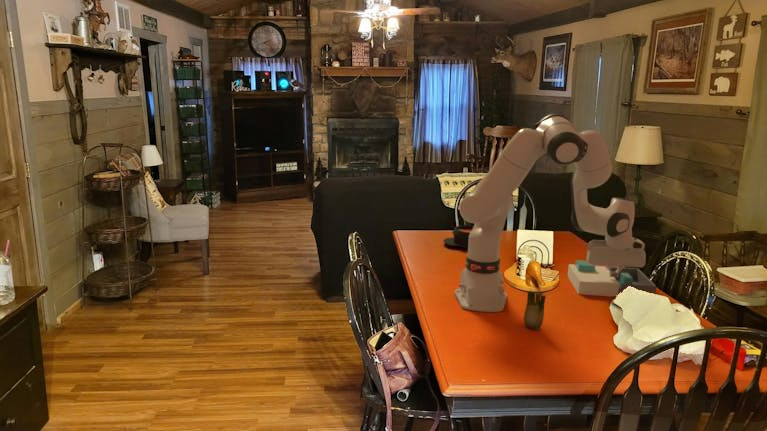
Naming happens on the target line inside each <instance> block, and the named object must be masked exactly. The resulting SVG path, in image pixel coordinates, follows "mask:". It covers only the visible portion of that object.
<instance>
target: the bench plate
mask: <svg viewBox="0 0 767 431" xmlns="http://www.w3.org/2000/svg"><path fill="white" fill-rule="evenodd" d="M567 267H568V269H567V278H568V279H569V281H570V283H571V284H572V286H573V288H574V289H575V291H576V292H577V294H578V295H584V296H586V295H587V296H601V297H602V296H603V297H613V296H616V295H618V292H619V285H620V284H619V283H618V281H617V280H616V279H615V278H614V277H609V271H608V268H607V266H606V265H595V271H594V272H586V271H578V270H577V268H576V267H575V264H574V263H573V264H568V266H567Z"/></svg>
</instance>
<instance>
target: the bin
mask: <svg viewBox="0 0 767 431" xmlns="http://www.w3.org/2000/svg"><path fill="white" fill-rule="evenodd" d="M610 269H611V271H615V272H616V270H617V269H618V267H617V266H612V268H610ZM608 271H609V270H608ZM621 273H628V274H629V275H630V276H631V277H632V278H633V280H632V284H624V283H622V287H621V288H620V286H619V292H618V294H619V293H620V292H622V291H623V290H624V289H626V288H627V287H628V286H631V287H634V288H636V289H638V290H642V291H646V292H649V293H654V294H655V295H656V292H657V291H656V290H657V285H656V284H655V283H654V282H653V281H652V280H651V279H650V278H648V277H647V276H646V275H645V274H644V272H643V271H641V269H640V268H638V267H623V268H622V270H621V271H620V273H619V274H618V277H614V278H615V279H616V280H617V281H618V283H619V284H620V276H621Z"/></svg>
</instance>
